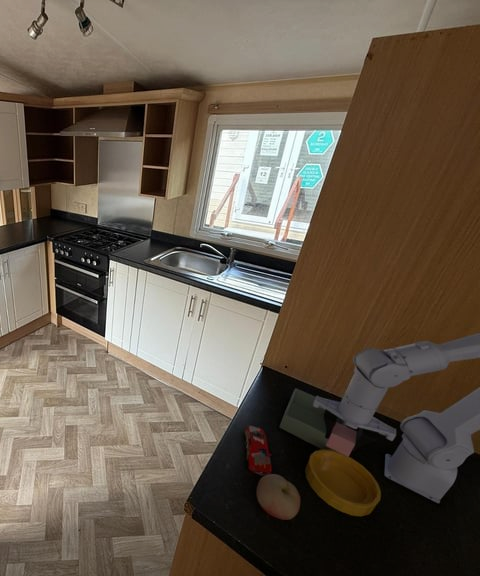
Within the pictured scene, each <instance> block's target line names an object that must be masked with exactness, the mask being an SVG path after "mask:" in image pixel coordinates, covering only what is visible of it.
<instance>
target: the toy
mask: <svg viewBox="0 0 480 576" xmlns="http://www.w3.org/2000/svg"><path fill="white" fill-rule="evenodd" d="M357 433H358V431H356V430H355V429H353V428H351V427H349V426H343V425H341V424H339V423H337V422H336V424H335V426H334V427H333V429H332V431H331V434H330V437H329V438H328V439H327V442H326V446H327V447H329V448H331V449H333V450H335V451H337V452H339V453H341V454H343V455H345V456H348V457H350V455H351V453H352V452H353V451H352V449H353V448H354V446H355V443H356V435H357Z"/></svg>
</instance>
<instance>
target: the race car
mask: <svg viewBox="0 0 480 576" xmlns="http://www.w3.org/2000/svg"><path fill="white" fill-rule="evenodd" d="M243 440H244V448H245V457H246V462H247V468H248V469H249V471H251V472H252V473H253V474H255V475H257V476H260V477H264V476H265V475H268V474H272V469H273V468H272V463H271V457H270V456H272V453H270V451H269V446H268V440H267V436H266V433H265V430H263V429H262V428H261V427H258V426H254V425H248V426H247V427H246V428H245V430H244V433H243Z"/></svg>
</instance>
